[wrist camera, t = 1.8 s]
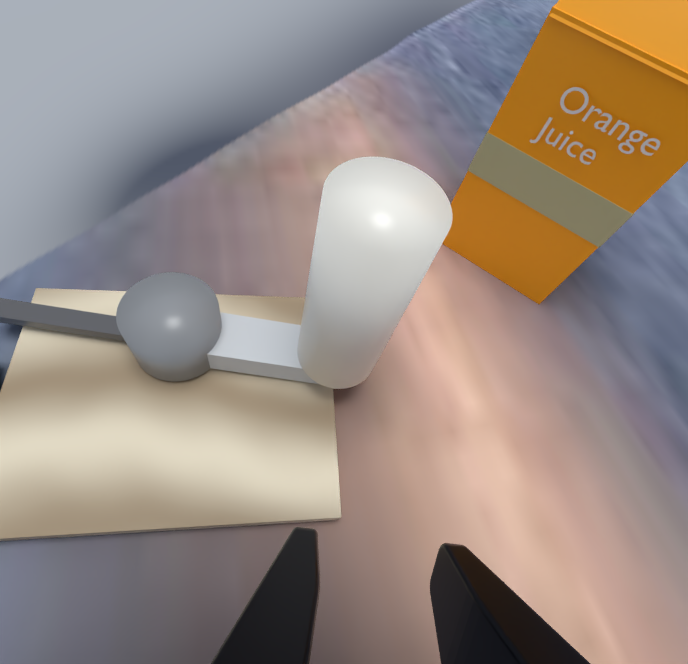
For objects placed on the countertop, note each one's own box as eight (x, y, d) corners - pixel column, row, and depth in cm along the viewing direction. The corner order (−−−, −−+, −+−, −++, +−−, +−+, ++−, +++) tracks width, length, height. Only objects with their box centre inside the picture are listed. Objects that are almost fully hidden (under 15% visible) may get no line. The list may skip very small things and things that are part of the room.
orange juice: (539, 306, 29) (942, -80, 12) (431, 238, 30) (651, -193, 13) (572, 243, 33) (914, -118, 16) (475, 185, 34) (690, -202, 17)
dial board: (337, 519, 20) (341, 517, 19) (-127, 549, 17) (-150, 547, 16) (325, 307, 26) (327, 297, 25) (-21, 296, 22) (-33, 284, 21)
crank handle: (-31, 353, 20) (-329, 128, 10) (15, 278, 22) (-190, 34, 12) (366, 409, 22) (456, 270, 12) (370, 335, 24) (449, 166, 14)
